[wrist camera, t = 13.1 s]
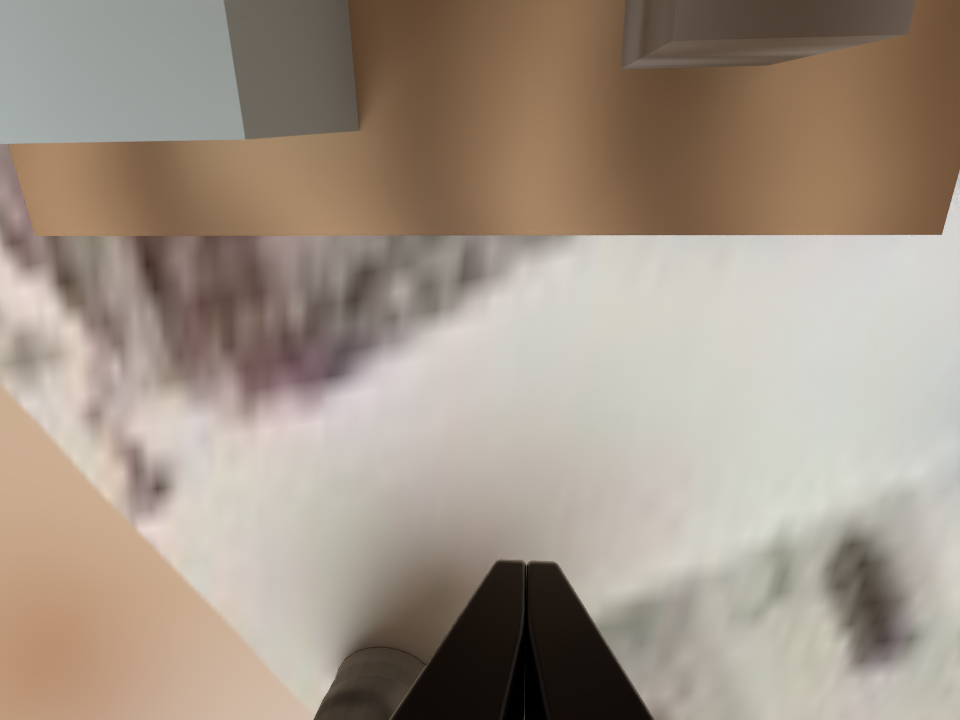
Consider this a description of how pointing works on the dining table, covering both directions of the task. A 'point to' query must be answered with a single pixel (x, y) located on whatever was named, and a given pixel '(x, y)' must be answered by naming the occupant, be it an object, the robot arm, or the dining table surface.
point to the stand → (569, 129)
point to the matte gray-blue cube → (174, 70)
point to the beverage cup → (370, 685)
